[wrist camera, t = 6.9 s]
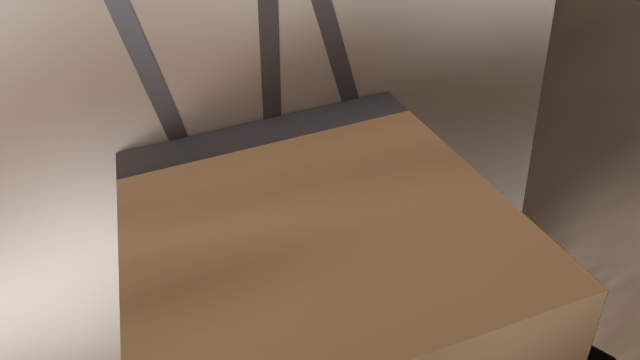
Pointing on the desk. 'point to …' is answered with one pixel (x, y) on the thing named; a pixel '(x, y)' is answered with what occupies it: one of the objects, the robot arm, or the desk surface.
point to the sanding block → (337, 248)
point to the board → (219, 116)
